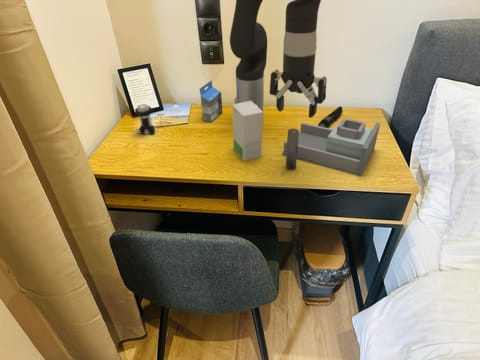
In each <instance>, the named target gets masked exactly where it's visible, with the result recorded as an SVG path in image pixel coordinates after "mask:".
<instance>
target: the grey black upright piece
mask: <svg viewBox="0 0 480 360" xmlns="http://www.w3.org/2000/svg"><path fill="white" fill-rule="evenodd" d="M134 112H135V114H136V115H137V116H138V118H139V121H140V127H139V128H136V129H135V130H136V133H140V134H141V135H145V136H146V135H147V136H148V135H151V136H153V135H155V133H156V128H155V125H154V124H153V123H152V118H151V114H152V107H151V106H149V105H148V104H139V105H137V107H136V108H135V109H134Z"/></svg>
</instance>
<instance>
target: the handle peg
mask: <svg viewBox="0 0 480 360" xmlns="http://www.w3.org/2000/svg"><path fill="white" fill-rule="evenodd" d="M299 130H300V129H298V128H290V129H287V138H286V139H287V140H286V141H287V154H286V156H285V160H286V161H285V169H286V170H288V171H294V170H296V169H297V161H298V159H297V150H298V137H299V133H300V131H299Z"/></svg>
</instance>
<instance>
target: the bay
mask: <svg viewBox="0 0 480 360" xmlns="http://www.w3.org/2000/svg"><path fill="white" fill-rule="evenodd" d="M380 126H381V123H380V122H375V124H374V126H373V127H372V128H371V129H372V131H371V133H370V135H369V136H368V138H367V140H366V142H365V144H364V146H363V147H362V151H361V156H360V160H358V159H354V158H350V157H346V156H342V155H338V154H334V153H330V152H326V147H327V140H328V136H329V134H330V133H331V132H332V130H333V129H334V128H330V127H328V128H325V127H320V126H318V125H315V124H312V123H311V124H310V123H307V122H301V123H300V129H299V130H300V131H299V137H298V150H297V160H301V161H304V162H307V163H311V164H314V165H318V166H322V167H326V168H330V169H334V170H336V171H341V172H343V173H344V172H345V173H348V174H352V175H354V176H359V177H361V176H362V174H363V172H364V170H365V168H366V167H367V164H368V163H369V161H370V159H371V156H372V154H373V152H374V150H375V147H376V143H377V139H378V134H379V130H380ZM286 154H287V140H285V141H284V142H283V151H282V154H281V155H282V156H285V157H286Z"/></svg>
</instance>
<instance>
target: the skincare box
mask: <svg viewBox="0 0 480 360" xmlns="http://www.w3.org/2000/svg"><path fill="white" fill-rule="evenodd" d="M263 125H264V110H263V111H262V110H260V109H259V108H258V106H257V105H255V104H254V103H253V102H252V101H247V102H242V103H237V104H235V103H233V104H232V133H233V134H232V139H233V140H232V143H233V144H232V145H233V150H234V152H235V153H236V154H237V156H239V158H240V159H241V160H242V161H243V162H247V161H250V160H254V159H256V158H257V159H258V158H261V157H262V148H263V147H262V145H263Z"/></svg>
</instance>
